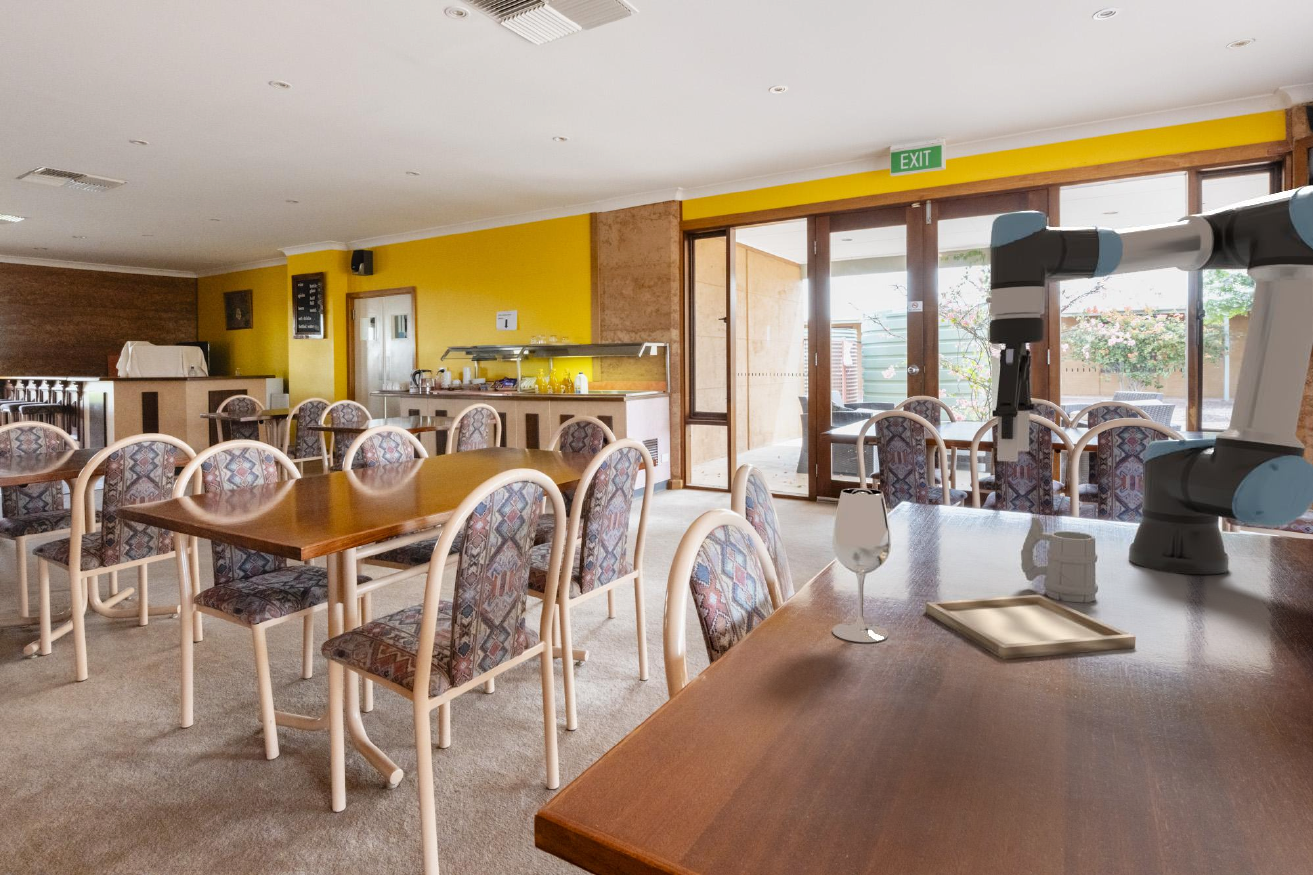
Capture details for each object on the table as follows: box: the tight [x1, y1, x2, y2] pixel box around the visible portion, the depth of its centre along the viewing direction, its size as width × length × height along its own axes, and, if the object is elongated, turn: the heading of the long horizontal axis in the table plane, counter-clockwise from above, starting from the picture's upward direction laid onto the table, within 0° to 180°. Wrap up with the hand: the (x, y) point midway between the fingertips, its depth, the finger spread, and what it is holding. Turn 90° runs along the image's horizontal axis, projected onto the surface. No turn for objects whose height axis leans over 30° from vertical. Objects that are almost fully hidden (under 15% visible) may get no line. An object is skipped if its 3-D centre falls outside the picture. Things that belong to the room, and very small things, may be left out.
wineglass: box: [831, 487, 892, 644], centre depth 107 cm, size 8×8×20 cm
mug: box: [1020, 515, 1099, 603], centre depth 125 cm, size 8×12×12 cm, turn 40°
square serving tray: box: [925, 594, 1137, 660], centre depth 109 cm, size 19×19×2 cm
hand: (1013, 456), depth 120 cm, fingers open, 13 cm apart
